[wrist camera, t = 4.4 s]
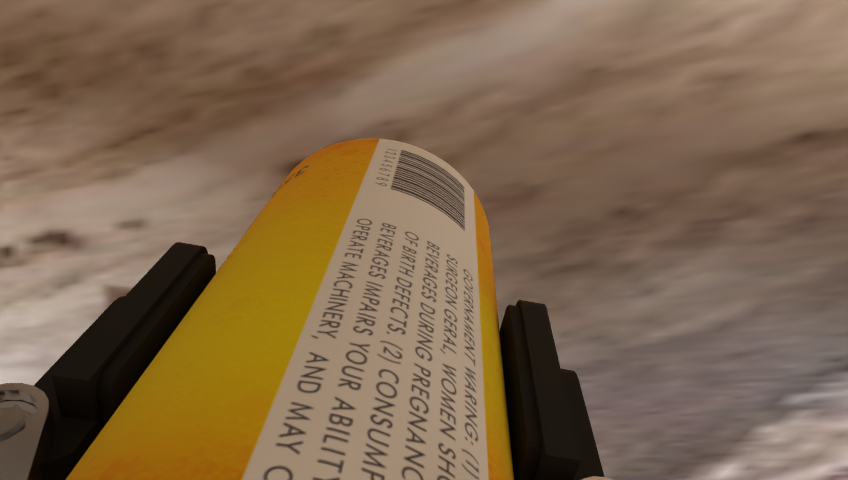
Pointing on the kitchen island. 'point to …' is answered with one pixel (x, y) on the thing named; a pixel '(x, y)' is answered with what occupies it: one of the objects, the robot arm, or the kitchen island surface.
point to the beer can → (332, 340)
